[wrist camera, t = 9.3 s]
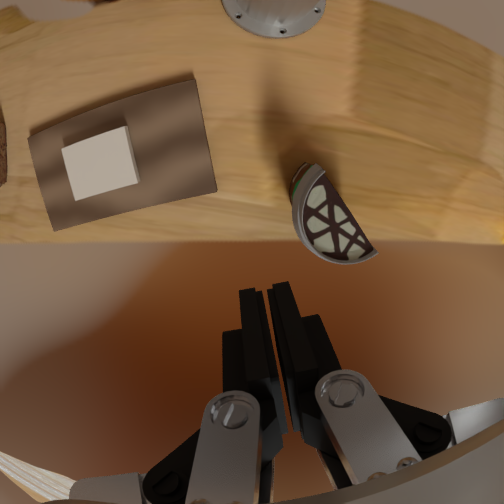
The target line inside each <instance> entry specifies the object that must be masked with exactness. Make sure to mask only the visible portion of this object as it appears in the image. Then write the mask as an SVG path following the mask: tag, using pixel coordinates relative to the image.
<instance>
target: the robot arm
mask: <svg viewBox="0 0 504 504" xmlns="http://www.w3.org/2000/svg"><path fill="white" fill-rule="evenodd" d="M222 3H223V7H224V9H225V11H226V13H227V14H228V16H229V17H230V18H231V20H232V21H234V22H235V23H236V24H237V25H238V26H239V27H241V28H243V29H244V30H246V31H248V32H250V33H252V34H255V35H258V36H262V37H266V38H275V39H277V38H289V37H294V36H297V35H300V34H302V33H304V32H306V31H307V30H309V29H311V28H312V27H313V26H314V25H315V24H316V23H317V22H318V21H319V20H320V18H321V17H322V15H323V13H324V9H325V5H326V0H222ZM315 11H317V13H316V12H315ZM237 16H240V17H241V18H240V19H237V18H236V17H237ZM280 31H283V32H284V34H281V33H280ZM272 286H273V289H267V293H268V299H269V305H270V311H271V317H272V323H273V329H274V335H275V341H276V347H277V353H278V358H279V363H280V367H281V372H282V377H283V381H284V387H285V392H286V396H287V401H288V406H289V411H290V416H291V421H292V425H293V430H294V432H296V431H301V436H302V439H304V442H305V443H306V444H308V445H310V446H313V447H314V448H316V449H317V453H318V455H319V457H320V460H321V462H322V464H323V466H324V468H325V471H326V473H327V475H328V477H329V479H330V481H331V484H332V486H333V488H334V490H335V491H331V492H327V493H322V494H318V495H313V496H309V497H304V498H299V499H293V500H287V501H281V502H274V503H273V483H274V457H275V455H276V454H277V453H278V452H279V451H280V450H281V449H282V448H283V440H282V434H286V433H288V429H287V422H286V416H285V411H284V405H283V399H282V393H281V387H280V381H279V375H278V370H277V365H276V360H275V355H274V350H273V345H272V340H271V334H270V329H269V324H268V319H267V314H266V309H265V304H264V299H263V294H262V291H257V292H256V291H255V288H249V289H244V290H239V298H240V310H241V323H242V329H237V330H231V331H225V332H223V335H222V347H223V348H222V353H223V354H222V356H223V393H221V394H219V395H217V396H216V397H214V398H213V399H212V400H211V401H210V402H209V403H208V404H207V406H206V409H205V411H204V415H203V420H202V425H201V428H200V429H199V430H198V431H197V432H195V433H194V434H193V435H192V436H191V437H189V438H188V439H187V440H186V441H185V442H184V443H182V445H180V446H179V447H178V448H176V449H175V450H174V451H173V452H171V453H170V454H169V455H168V456H167V457H166V458H164V459H163V460H162V461H160V462H159V463H158V464H157V465H155V466H154V467H153V468H152V469H151V470H150V471H149V472H148V473H146V474H139V473H138V472H135V473H128V474H121V475H113V476H104V477H95V478H84V479H81V480H78V481H77V482H75V483H74V484H73V486H72V487H71V489H70V494H69V499H63V500H53V501H48V502H44V503H41V504H504V398H498V399H494V400H491V401H488V402H485V403H481V404H477V405H474V406H470V407H466V408H462V409H458V410H454V411H449V412H448V414H447V415H444V416H440V415H438V414H436V413H433V412H430V411H426V410H423V409H420V408H417V407H413V406H410V405H407V404H404V403H401V402H398V401H395V400H392V399H389V398H386V397H383V396H380V395H378V394H377V393H376V391H375V390H374V389H373V387H372V386H371V384H370V383H369V381H368V380H367V379H366V378H365V377H364V376H363V375H362V374H360V373H357V372H356V371H351V370H342V369H341V366H340V364H339V361H338V359H337V356H336V354H335V351H334V350H333V347H332V344H331V342H330V340H329V337H328V335H327V332H326V330H325V327H324V325H323V323H322V320H321V318H320V316H319V315H318V314H316V315H311V316H306V317H301V316H300V313H299V310H298V307H297V304H296V302H295V299H294V296H293V293H292V290H291V287H290V284H289V282H288V281H287V282H281V283H276V284H273V285H272Z"/></svg>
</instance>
